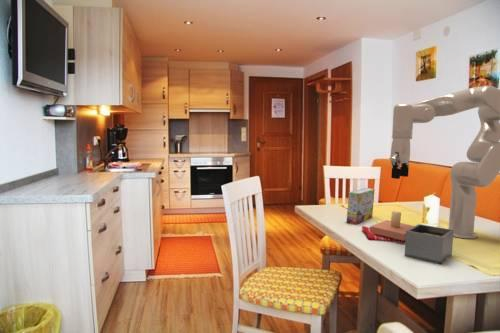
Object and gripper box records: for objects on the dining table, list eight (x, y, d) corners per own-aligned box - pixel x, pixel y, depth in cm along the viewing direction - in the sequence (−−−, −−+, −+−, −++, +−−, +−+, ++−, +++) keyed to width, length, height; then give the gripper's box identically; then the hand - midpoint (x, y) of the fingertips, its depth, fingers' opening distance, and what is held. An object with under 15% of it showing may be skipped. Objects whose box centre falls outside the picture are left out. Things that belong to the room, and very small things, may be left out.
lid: (386, 225, 169) (388, 206, 168) (419, 233, 160) (421, 212, 159) (369, 232, 158) (371, 211, 157) (403, 240, 148) (405, 219, 147)
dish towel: (360, 231, 171) (361, 225, 170) (416, 234, 167) (417, 228, 167) (366, 241, 154) (367, 235, 153) (429, 246, 150) (429, 239, 150)
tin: (417, 247, 146) (418, 224, 145) (451, 254, 138) (453, 230, 137) (404, 255, 135) (406, 230, 134) (441, 264, 127) (443, 237, 126)
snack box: (357, 225, 178) (359, 193, 177) (346, 223, 182) (347, 191, 180) (373, 217, 195) (375, 188, 194) (362, 216, 199) (364, 187, 197)
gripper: (400, 135, 164) (398, 174, 165) (384, 135, 151) (382, 178, 152) (418, 135, 159) (416, 176, 161) (404, 135, 146) (401, 180, 147)
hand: (399, 177), depth 156 cm, fingers open, 9 cm apart
